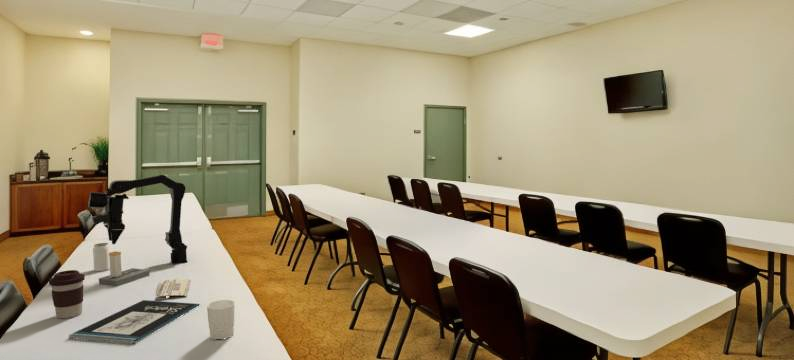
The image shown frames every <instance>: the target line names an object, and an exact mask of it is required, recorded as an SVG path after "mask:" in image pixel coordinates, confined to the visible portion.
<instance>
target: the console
mask: <svg viewBox="0 0 794 360" xmlns="http://www.w3.org/2000/svg"><path fill="white" fill-rule="evenodd" d="M121 271H122V275H121V276H118V277H112V276H111V275H110V274H109V275H105V276H102V277H100V278H98V284H99V285H103V286H104V285H105V286H112V287H120V286H122V285H125V284H128V283H132V282H135V281H137V280H140V279H144V278H146V277H150V269H141V268H133V267H132V268H129V269H125V270H121Z"/></svg>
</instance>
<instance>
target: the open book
mask: <svg viewBox="0 0 794 360" xmlns="http://www.w3.org/2000/svg"><path fill="white" fill-rule="evenodd" d="M190 282H191V283H192V279H187V278H183V279H182V278H179V279H178V278H175V279H166V280H164V281H163V282H159V283H158V287H157V289H156V295H155V297H156V296H157V297H156V298H155V299H156V300H155V301H161V300H167V299H166V296H170V297H171V296H173V297H175V296H184V297H185V296H186V297H187V296H188V294H187V293H189V290H190V287H189V286H191V283H190Z"/></svg>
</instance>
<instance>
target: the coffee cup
mask: <svg viewBox="0 0 794 360" xmlns="http://www.w3.org/2000/svg"><path fill="white" fill-rule="evenodd" d="M84 280H86V279H85V274H84V273H80V271H79V270H77V269H74V270H73V269H70V270H64V271H63V270H62V271H59V272H56V273H55V274H54V275H53V277H51V278H49V280H48V285H49V286H51V296H52V302H53V307H54V310H55V316H56V318H57V317H58V319H60V318H65V319H71V318H75V317H77V316H79V315H81V314H82V313H83V302H84V283H83V282H84ZM70 317H71V318H70Z"/></svg>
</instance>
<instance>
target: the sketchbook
mask: <svg viewBox="0 0 794 360" xmlns="http://www.w3.org/2000/svg"><path fill="white" fill-rule="evenodd" d="M199 305H200V303H191V302H190V303H189V302H177V301H176V302H174V301H161V300H147V299H143V300H141V301H138V302H136V303H134V304H132V305H130V306H128V307H126V308H123V309H121V310H119V311H117V312H114V313H112V314H111V315H109V316H106V317H103V318H102V319H100V320H98V321H96V322H93V323H92V324H89V325H88V326H85V327H83V328H81V329H79V330H76V331H74V332H72V333H71V334H68V339H71V340H73V339H74V338H75V339H74V341H78V340H79V341H81V340H82V341H83V342H84V341H86V342H90V341H92V342H94V343H95V342H96V343H98V342H99V343H102V342H103V343H105V342H107V341H110V342H107V344H113V343H114V344H116V343H117V344H119V342H121V343H120V344H121V345H127V344H128V345H129V344H131V345H130V346H132V345H133V344H132V343H137V344H139V343H140V341H141V340H142V341H144V340H145V339H147V338H148V337H147V336H149V335H150V336H152V335H153V334H152V333H154V332H155V331H157V330H158V329H160V328H162V327H164V326H165V325H167V324H169V323H170V322H172V321H173V322H175V321H176V320H175V319H177V318H178V317H180V316H181V315H183V314H185V313H187V312H188V313H190V312H191V311H190V310H192V309H193V310H195V309H197V308H198V307H199ZM197 306H198V307H197ZM200 306H201V305H200ZM196 307H197V308H196ZM194 308H195V309H194ZM193 310H192V311H193ZM189 311H190V312H189ZM188 313H187V314H188ZM185 315H186V314H185ZM183 316H184V315H183ZM180 318H181V317H180ZM178 319H179V318H178ZM178 319H177V320H178ZM174 320H175V321H174ZM173 322H172V323H173ZM170 324H171V323H170ZM170 324H169V325H170ZM167 326H168V325H167ZM165 327H166V326H165ZM165 327H164V328H165ZM162 329H163V328H162ZM160 330H161V329H160ZM157 332H158V331H157ZM155 333H156V332H155ZM155 333H154V334H155ZM151 334H152V335H151ZM150 336H149V337H150ZM146 337H147V338H146ZM72 338H73V339H72ZM76 338H78V339H76ZM144 338H145V339H144ZM84 339H86V340H84ZM87 339H89V340H87ZM143 339H144V340H143ZM95 340H97V341H95ZM98 340H99V341H98ZM111 341H113V342H111ZM142 341H141V342H142ZM122 342H124V343H122ZM138 342H139V343H138Z"/></svg>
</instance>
